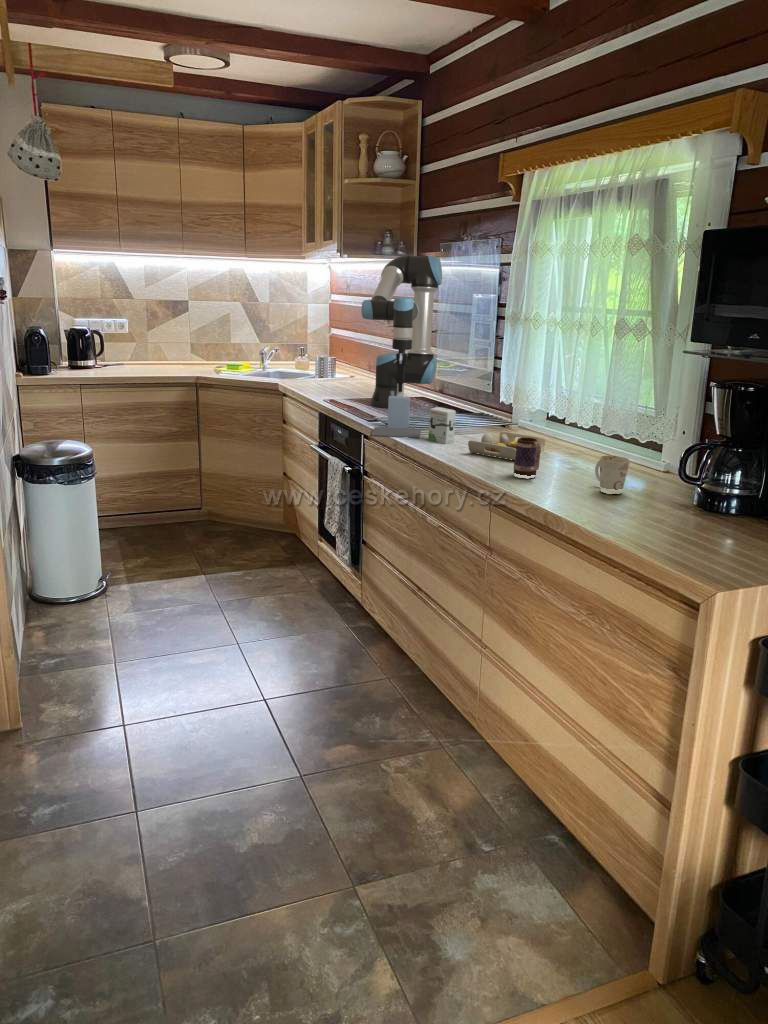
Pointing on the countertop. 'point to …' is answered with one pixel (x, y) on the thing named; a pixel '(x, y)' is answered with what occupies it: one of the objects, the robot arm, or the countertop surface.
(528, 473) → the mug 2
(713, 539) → the countertop surface
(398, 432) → the mat
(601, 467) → the mug
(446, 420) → the ink box
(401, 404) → the block
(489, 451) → the toy food set
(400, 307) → the robot arm
